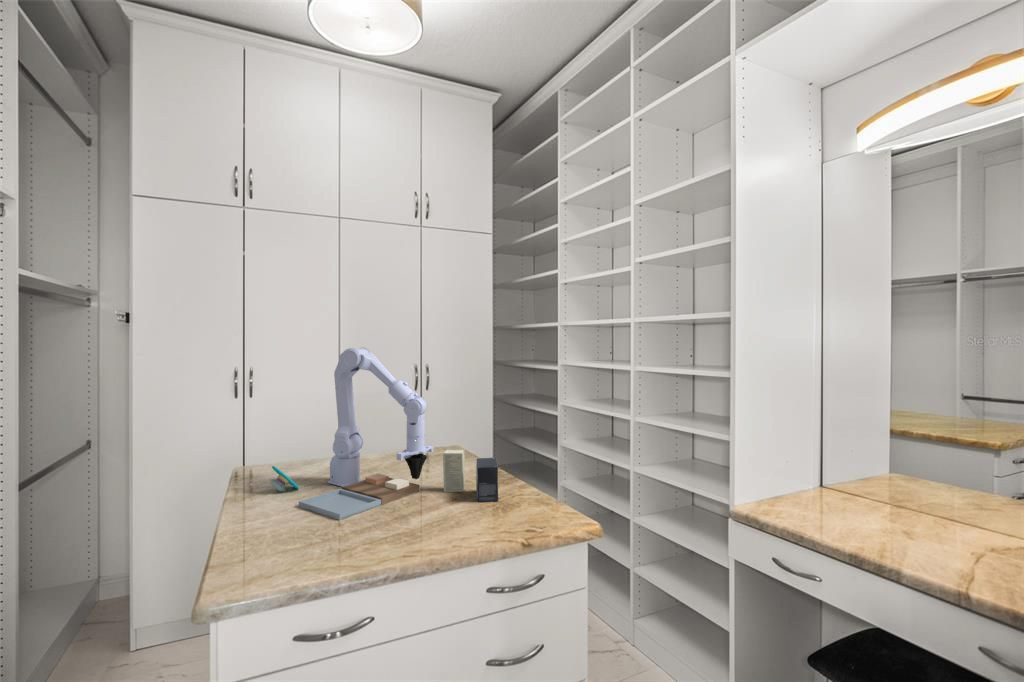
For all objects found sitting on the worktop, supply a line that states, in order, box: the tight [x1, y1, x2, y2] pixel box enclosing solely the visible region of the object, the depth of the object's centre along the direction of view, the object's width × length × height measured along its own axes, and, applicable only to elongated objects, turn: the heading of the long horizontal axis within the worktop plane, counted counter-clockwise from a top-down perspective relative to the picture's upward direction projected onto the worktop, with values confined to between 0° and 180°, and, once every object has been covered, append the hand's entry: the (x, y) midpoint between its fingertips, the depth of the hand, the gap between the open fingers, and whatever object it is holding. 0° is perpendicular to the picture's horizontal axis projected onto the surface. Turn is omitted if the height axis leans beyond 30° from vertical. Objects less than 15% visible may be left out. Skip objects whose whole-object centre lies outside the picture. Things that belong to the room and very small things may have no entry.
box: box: [298, 488, 382, 521], centre depth 142 cm, size 18×14×2 cm
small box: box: [475, 457, 499, 503], centre depth 151 cm, size 11×6×10 cm, turn 5°
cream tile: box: [385, 477, 410, 490], centre depth 154 cm, size 5×5×2 cm
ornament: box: [269, 465, 300, 493], centre depth 155 cm, size 11×4×10 cm
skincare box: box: [442, 449, 466, 493], centre depth 157 cm, size 6×4×12 cm
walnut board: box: [340, 477, 421, 506], centre depth 154 cm, size 18×15×2 cm
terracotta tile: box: [365, 473, 390, 485], centre depth 159 cm, size 5×5×2 cm
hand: (415, 478), depth 160 cm, fingers closed
